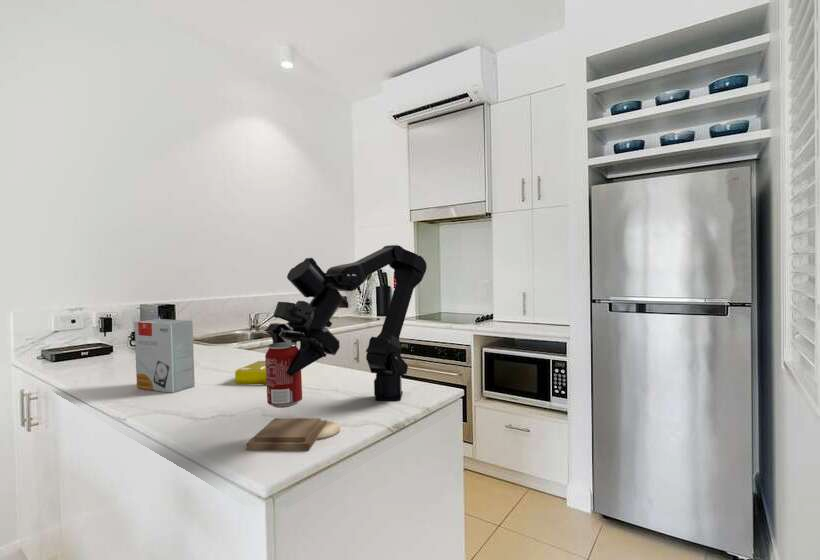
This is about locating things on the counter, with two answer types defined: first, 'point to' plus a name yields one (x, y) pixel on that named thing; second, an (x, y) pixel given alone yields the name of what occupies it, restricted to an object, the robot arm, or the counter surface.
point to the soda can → (282, 375)
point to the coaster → (329, 430)
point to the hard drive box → (164, 355)
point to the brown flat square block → (287, 434)
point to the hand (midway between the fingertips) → (277, 372)
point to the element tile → (252, 374)
